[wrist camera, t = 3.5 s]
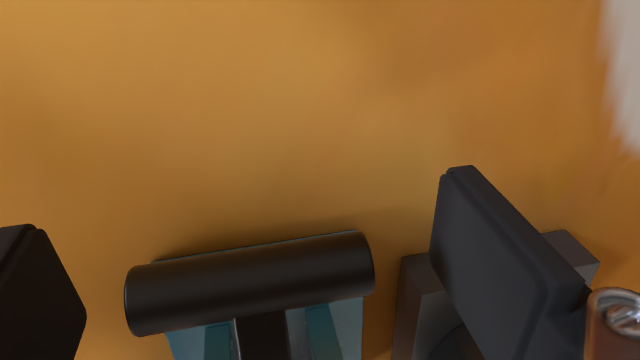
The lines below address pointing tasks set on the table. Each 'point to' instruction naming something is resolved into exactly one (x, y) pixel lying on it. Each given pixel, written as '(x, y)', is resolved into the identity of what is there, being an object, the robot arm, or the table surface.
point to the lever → (249, 289)
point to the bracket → (303, 328)
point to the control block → (440, 313)
